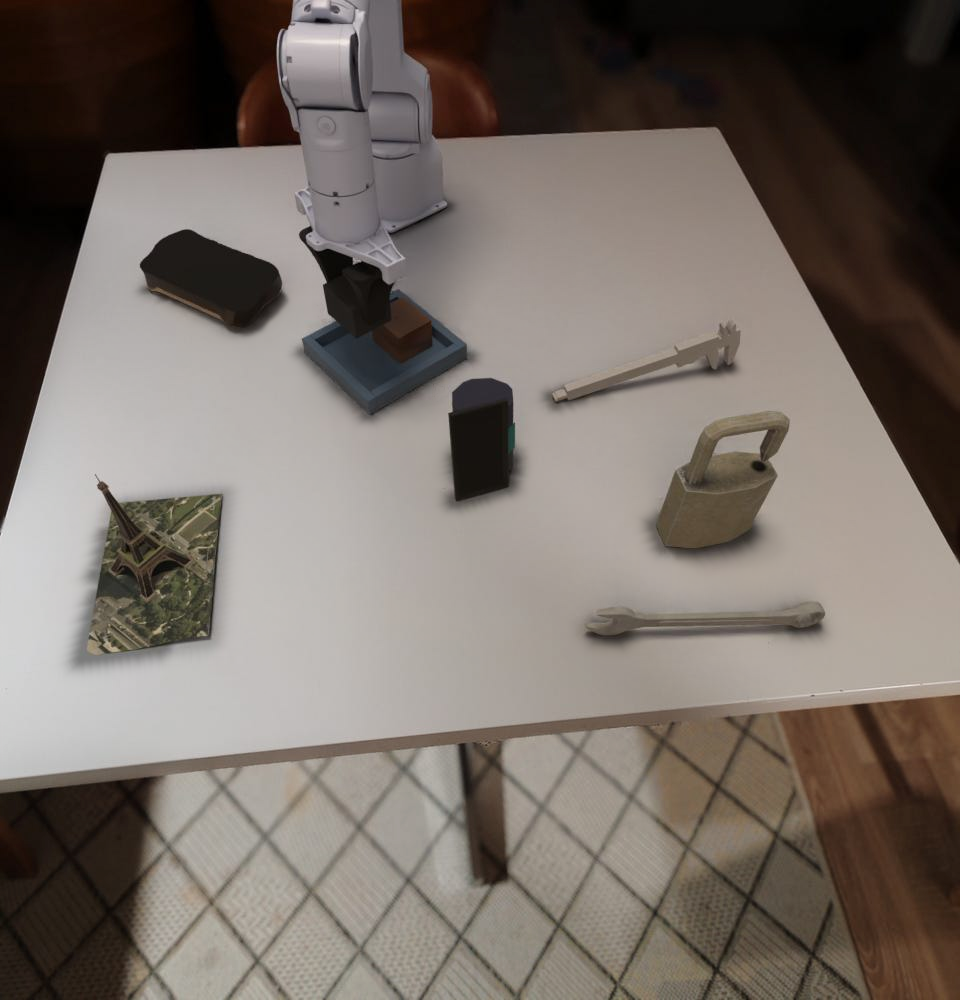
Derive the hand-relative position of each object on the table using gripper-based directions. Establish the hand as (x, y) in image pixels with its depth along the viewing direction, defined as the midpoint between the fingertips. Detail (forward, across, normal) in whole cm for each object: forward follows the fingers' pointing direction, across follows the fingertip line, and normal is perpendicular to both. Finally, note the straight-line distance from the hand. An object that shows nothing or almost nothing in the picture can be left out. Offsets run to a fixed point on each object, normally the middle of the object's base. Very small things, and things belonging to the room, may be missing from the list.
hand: (358, 305), depth 77 cm
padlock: (+8, +37, +11) cm, 40 cm away
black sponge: (+8, -21, -6) cm, 23 cm away
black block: (+1, 0, 0) cm, 1 cm away
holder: (+8, 0, +2) cm, 8 cm away
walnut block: (+7, 0, +5) cm, 9 cm away
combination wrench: (+8, +44, +3) cm, 45 cm away
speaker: (+8, +18, 0) cm, 20 cm away
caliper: (+8, +21, +21) cm, 31 cm away
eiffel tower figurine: (+8, +9, -29) cm, 32 cm away
